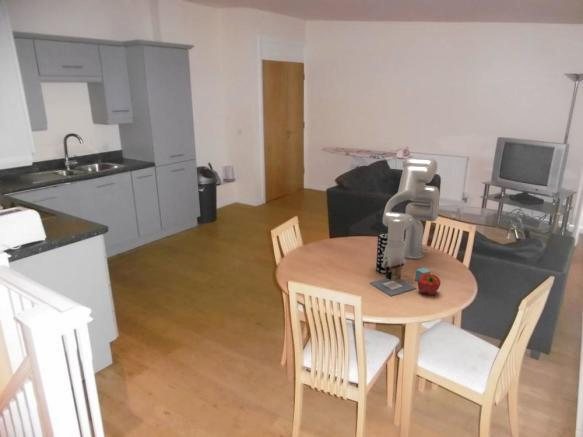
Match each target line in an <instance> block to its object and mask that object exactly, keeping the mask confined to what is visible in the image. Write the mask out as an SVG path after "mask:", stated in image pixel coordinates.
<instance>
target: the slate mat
mask: <svg viewBox="0 0 583 437" xmlns="http://www.w3.org/2000/svg"><path fill="white" fill-rule="evenodd" d="M369 284H370V285H372V286H373V287H375V288H376V289H378V290H380V292H383V293H385V294H386V295H388V296H389V297H394V296H397V295H401V294H404V293H408V292H410V291H414V290H417V287H416V286H414V285H412V284H410V283H409V282H407V281H405V280H403V279H398V280H394V281H392V280H389V279H388V278H386V277H384V278H380V279H378V280H373V281H370V282H369Z"/></svg>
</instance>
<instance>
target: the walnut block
mask: <svg viewBox="0 0 583 437" xmlns="http://www.w3.org/2000/svg"><path fill="white" fill-rule="evenodd" d="M388 268H389V267H388ZM391 272H392V275H391V280H392V281H394V280H398V279H401V276H402V269H401V267H399V266H397V265H396V266H392V269H391ZM401 280H402V279H401Z"/></svg>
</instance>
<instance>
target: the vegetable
mask: <svg viewBox="0 0 583 437" xmlns="http://www.w3.org/2000/svg"><path fill="white" fill-rule="evenodd" d="M441 283H442V282H441V279H440V278H439V277H438V276H437V275H436V274H432V273H431V274H428V273H424V274H422V275H421V277H419V280H418V281H417V287H418V290H419V291H420V293H421V294H423V295H424V294H426V295H429V296H432V295H433V296H434V295H435V294H436V293H437V291H438V290H439V289H440V286H441Z"/></svg>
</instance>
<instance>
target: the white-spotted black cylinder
mask: <svg viewBox="0 0 583 437" xmlns="http://www.w3.org/2000/svg"><path fill="white" fill-rule="evenodd" d="M387 241H388V232H387V233H379V234H378V235H377V244H376V245H377V246H376V263H375V264H376V265H375V271H376V273H378V274H380V275H386V270H385V269H384V268H383V267H382V264H383V257H384V251H385V247H386V245H387ZM386 265H387V264H386Z"/></svg>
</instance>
